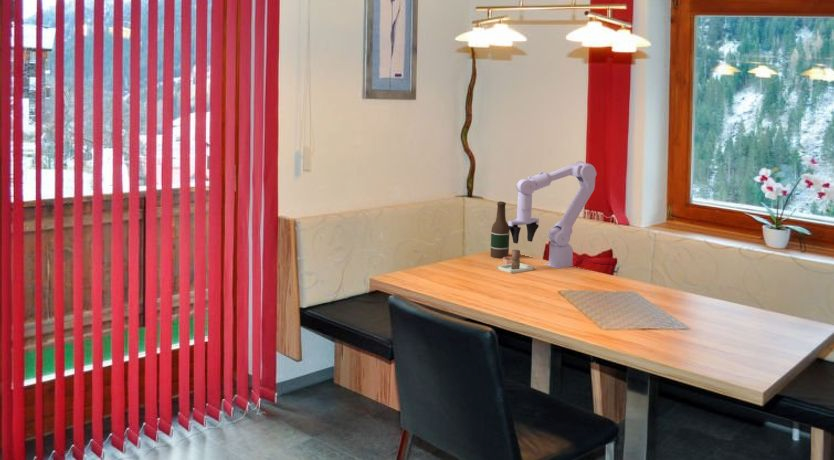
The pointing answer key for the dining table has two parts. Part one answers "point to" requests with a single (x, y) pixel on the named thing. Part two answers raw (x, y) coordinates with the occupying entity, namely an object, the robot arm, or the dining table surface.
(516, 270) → the tray
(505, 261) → the holder
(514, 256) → the peg
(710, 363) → the dining table surface
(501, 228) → the beer bottle
